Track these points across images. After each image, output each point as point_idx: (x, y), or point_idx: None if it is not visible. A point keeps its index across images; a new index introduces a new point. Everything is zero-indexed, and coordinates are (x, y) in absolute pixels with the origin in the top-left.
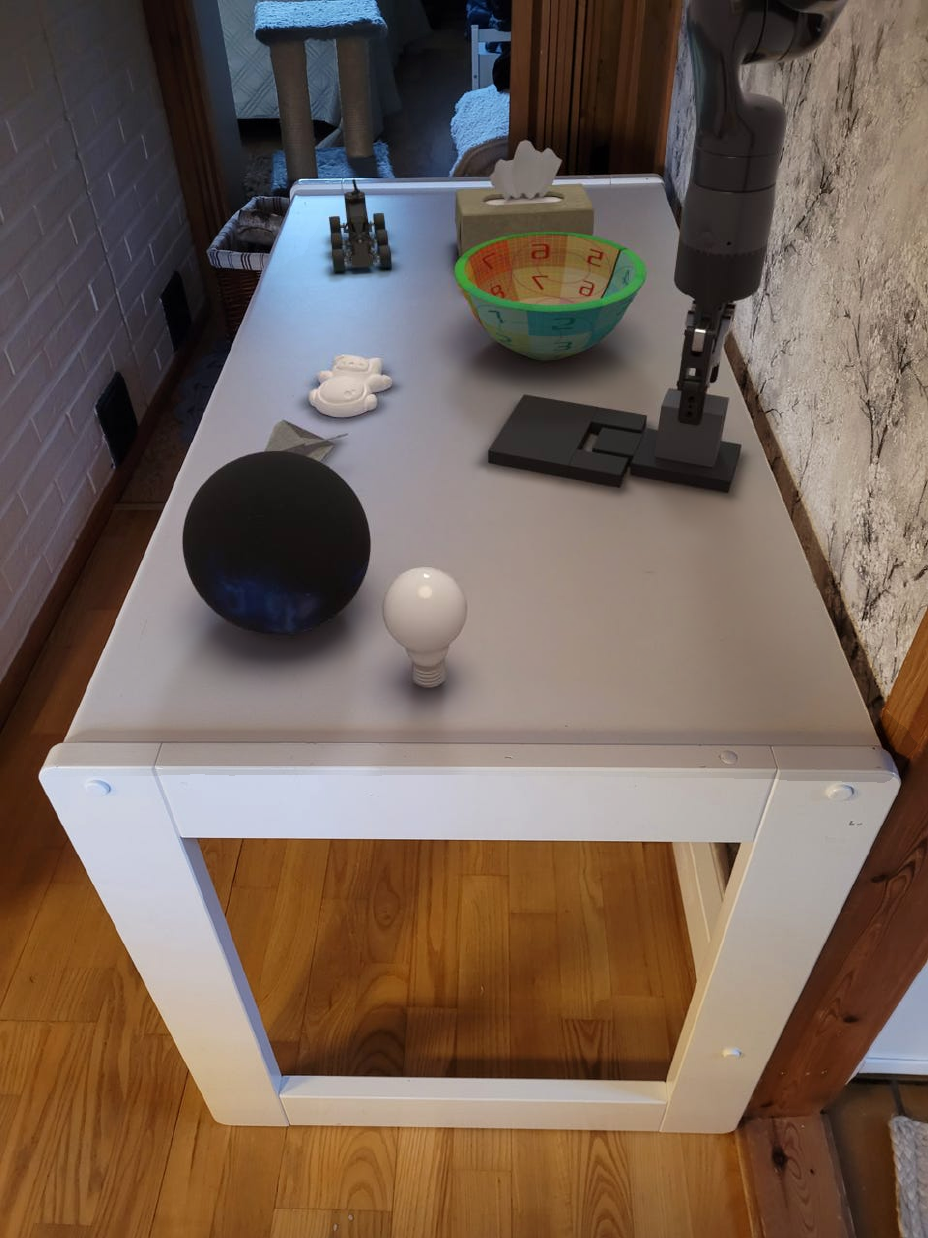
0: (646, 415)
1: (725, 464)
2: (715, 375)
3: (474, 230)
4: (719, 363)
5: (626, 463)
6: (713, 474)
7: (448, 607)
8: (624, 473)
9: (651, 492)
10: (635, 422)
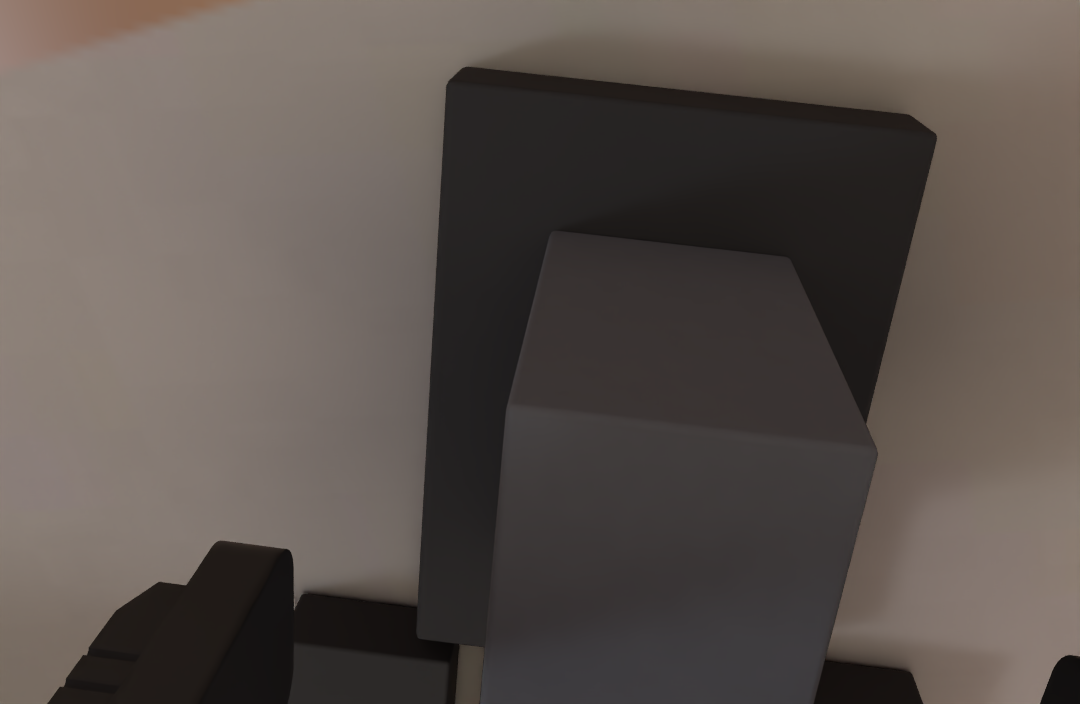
0: None
1: (733, 180)
2: (263, 595)
3: None
4: (195, 668)
5: None
6: (866, 251)
7: None
8: None
9: (939, 528)
10: (378, 691)
